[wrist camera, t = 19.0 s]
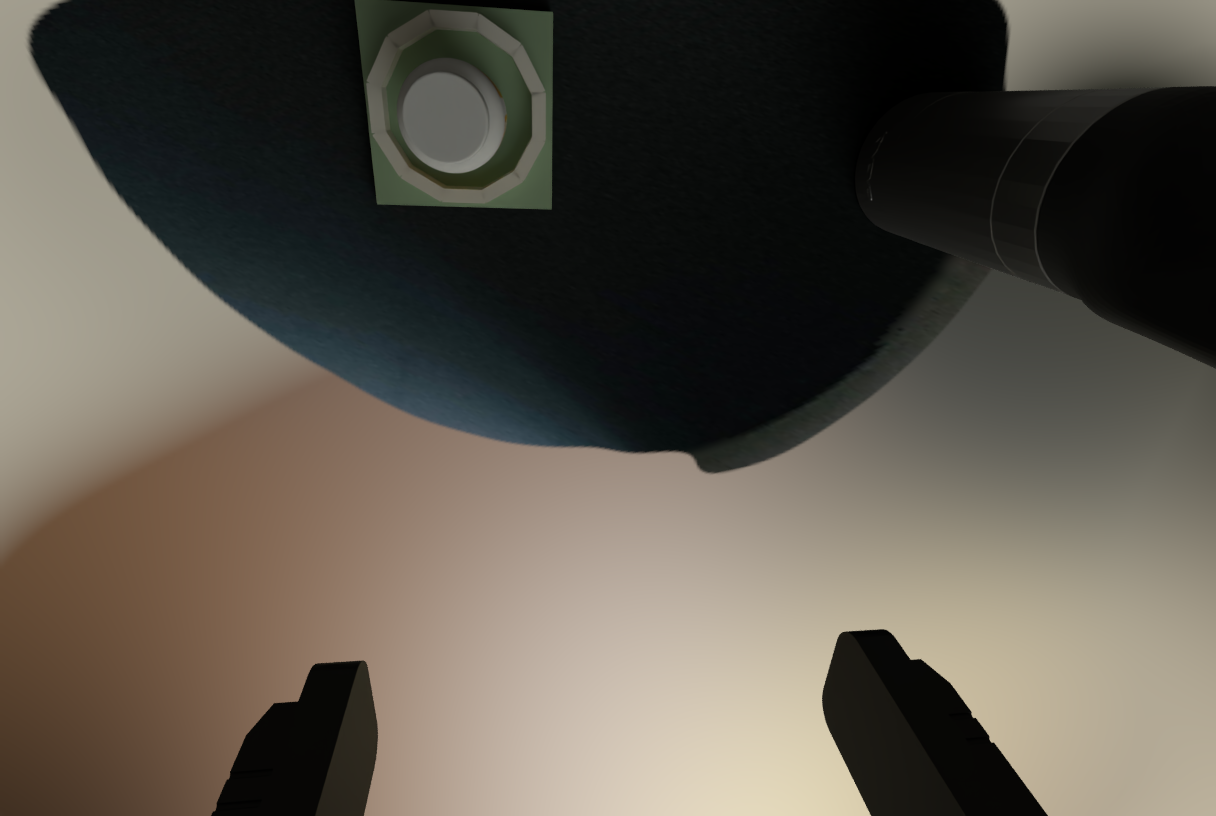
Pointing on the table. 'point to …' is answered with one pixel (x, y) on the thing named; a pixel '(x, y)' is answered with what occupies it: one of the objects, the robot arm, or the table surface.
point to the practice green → (495, 45)
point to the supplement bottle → (451, 115)
